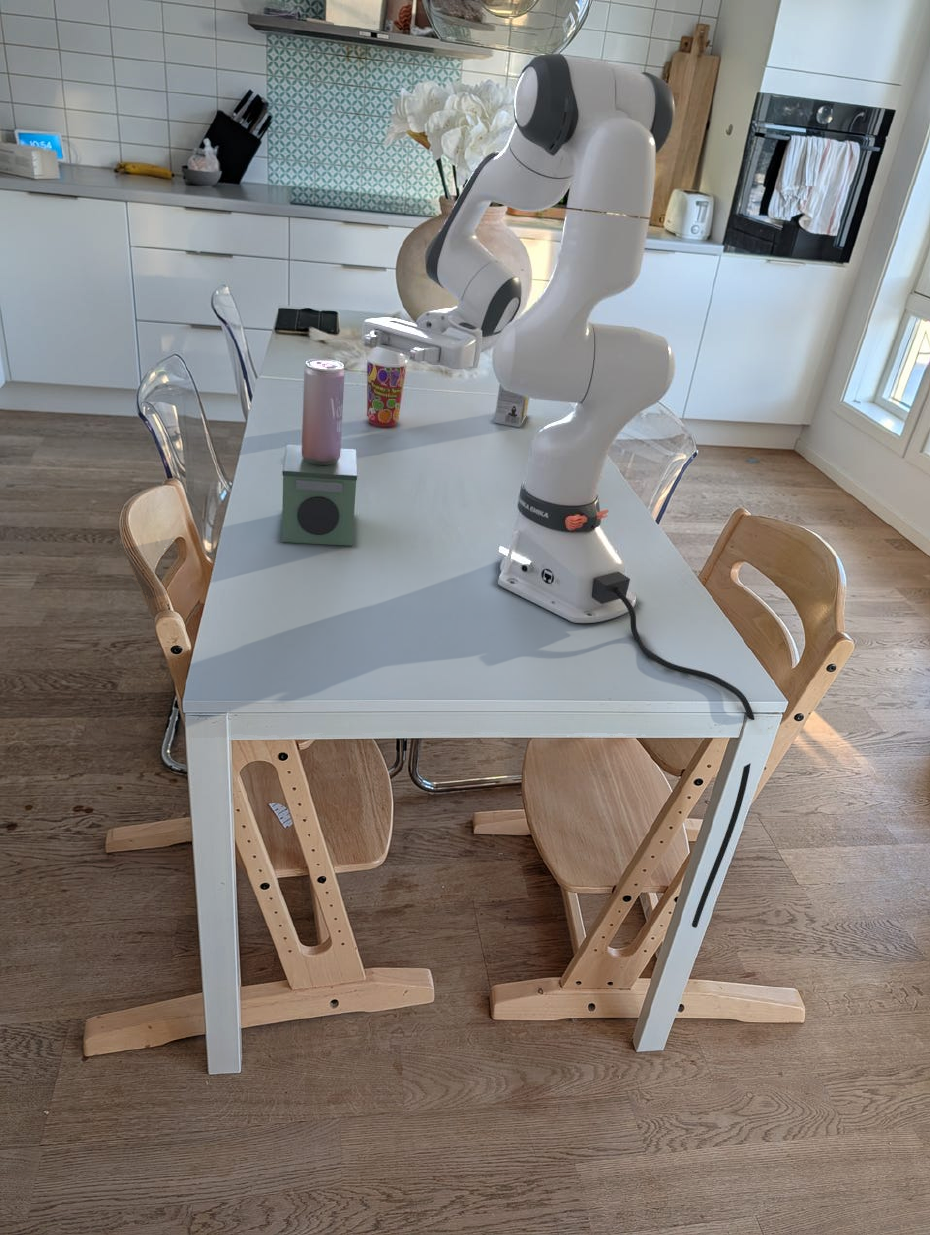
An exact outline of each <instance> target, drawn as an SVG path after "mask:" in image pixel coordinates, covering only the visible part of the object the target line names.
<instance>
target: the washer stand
mask: <svg viewBox="0 0 930 1235" xmlns="http://www.w3.org/2000/svg"><path fill="white" fill-rule="evenodd" d="M281 472H282V473H281V476H282V504H281V506H282V508H281V509H282V510H281V511H282V512H281V513H282V514H281V543H293V544H294V543H295V544H311V545H326V546H327V545H328V546H347V547H352V546H353V540H354V539H353V538H354V522H355V509H356V508H355V507H356V491H357V481H358V459H357V449H354V448H341V451H340V458H339V460H338V461H337V462H336V463H334V464H331V465H315V464H311V463H309V462H307V461H305V460H304V458H303V456H302V445H298V444H286V445H285V452H284V458H283V465H282V471H281Z"/></svg>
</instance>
